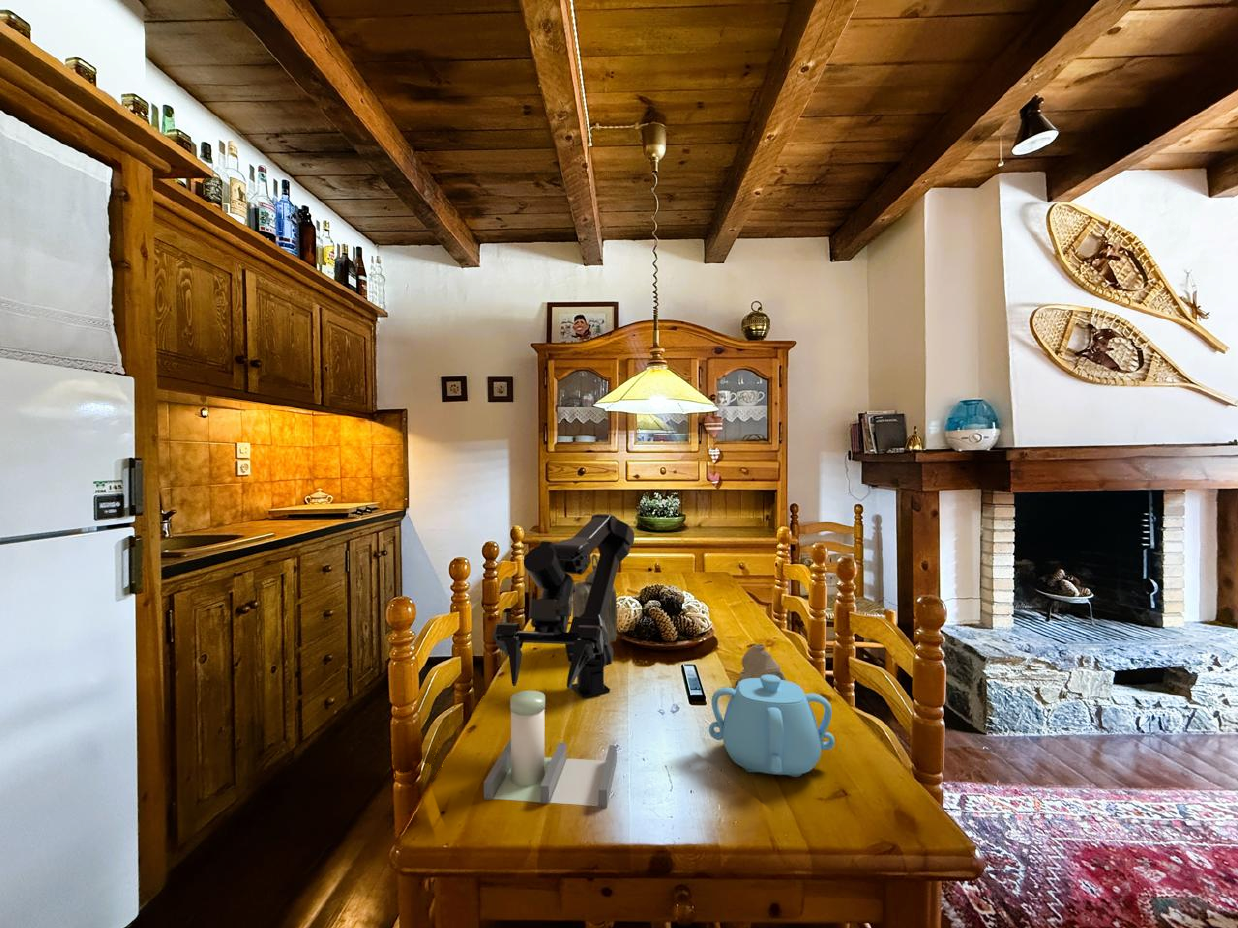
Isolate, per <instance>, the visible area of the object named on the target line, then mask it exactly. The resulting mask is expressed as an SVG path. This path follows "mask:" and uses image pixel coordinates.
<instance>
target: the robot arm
mask: <svg viewBox="0 0 1238 928" xmlns="http://www.w3.org/2000/svg"><path fill="white" fill-rule="evenodd" d="M634 542H635V533H634V530H633V529H632V528H631V526H630V525H629V524H628V523H625V522H624V521H621V520H620V519H618V518H617V516H615V515H613V514H612V513H611V514H609V513H607V514H606V513H596V514H593V515H592V516H591V519H590V520H589V521H588V522H587V523H586V524H585V525H584V526H583V527H582V528H581V529H580V530H579V531H578V532H577V533H576V534H575V535H574V536H573V537H571V538H567V539H562V540H560V541H558V542H557V543H554V544H553V542H552V541H544V540H541V542H540V544H539V545H538V546H536V547H534V548H532V549H531V550H530V551H529V552H527V553H526V554H525V556H524V558H523V566H524V568H525V570H526V572H527V573H528V574H529V575H530V577H531V579H532V580H533V582H534V583H535V585H536V587H538V588H540V589H542V590H541V594H540V595H541V596H540V598H539V599H538V598H533V599H532V598H531V599H530V604H529V612H528V620H531V622H530V624H531V627H532V628H534V629H533V630H522V629H521V626H520V624H519V622H499V623H497V625H496V626H494V630H493V634H492V637H493V639H494V641H495V644H496V645H497V648H498V649H499V650H500V651H503V652H504V654H505V655H507V656H508V661H509V670H510V678H511V684H512V685H511V686H513V687H516V686H517V682H518V679H519V674H520V669H521V663H522V658H523V652H522V650H521V649H522V648H523V645H524V643H526V644H527V643H529V644H554V645H555V644H556V645H565V652H566V657H567V661H568V663H570V664H569V665H570V666H569V669H568V674H567V678H566V680H567V681H566V688H567V689H569V690H570V689H572V690H573V691H575V692H576V693H577V694H578V695H579V696H580V697H582V698H588V697H592V696H593V697H594V696H597V695H602V694H607V693H610V692H611V688H609V687H608V686H607V685H606V684H605V683H604V681H605V679H604V678H605V675H604V674H605V671H604V670H605V669H604V668H605V667H606V666H610V665H612V664H613V657H614V649H613V646H612V645H611V643H610V642H609V641H608V632H607V629H606V626H605V622H604V620H605V616H606V612H607V608H608V604H609V600H610V596H611V592H612V589H613V585H614V584H615V580H616V576H617V573H618V570H619V569H618V568H619V564H620V563H621V562H622V560H624V559H625V558H626V557H627V556H628V555H629V553H630V550H631V547H632V546H633V544H634ZM596 548H597V549H598V552H599V557H598V563H597V567H596V570H595V574H594V577H593V581H592V585H591V588H590V592H589V595H588V599H587V602H586V606H585V609H584V612H583V614H582V615H581V616H580V617H578V616H575V617H574V618H573V617H572V613H573V608H572V602H573V593H575V592H576V590H575V586H574V584H575V580H574V579H573V577H572V576H571V575H579V576H580V575H581V576H582V575H584V574H585V572H587V570H588V568H589V566H590V564H592V558H591V554H592V553H593V552H594V551H595V550H596ZM614 586H615V585H614ZM571 617H572V619H571V621H570V618H571ZM569 621H570V622H571V624H570V627H569V626H568V625H569ZM568 627H569V629H568ZM567 631H568V632H567ZM575 680H576V683H574V682H575Z"/></svg>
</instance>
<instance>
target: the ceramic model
mask: <svg viewBox="0 0 1238 928" xmlns="http://www.w3.org/2000/svg"><path fill="white" fill-rule="evenodd" d="M740 663H741V666H742V668H743V669H742V670H741V671H740V673H739V676H738V679H737V682H736V685H738V683H739V682H740V681H741V680H743V679H748V678H760V677H761V676H762V675H775V676H777V677H779V678H780V679H781V680H785V681H787V680H786V675H785V674H784V672H783V671H782V669H781V666H780V664H779V663H778V661H776V660H775V659H774V658H773V657H772V656H771V654H770V653H769V652H768V651H766V648H765V645H764V644H762V643H761V644H760V643H757V644H754V645H753V646H752V647H750V648H748V650H746V652H745V653H744V655H743V656H742V659H741V662H740Z"/></svg>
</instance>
